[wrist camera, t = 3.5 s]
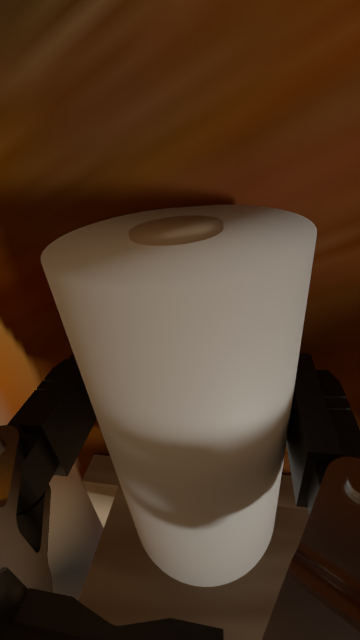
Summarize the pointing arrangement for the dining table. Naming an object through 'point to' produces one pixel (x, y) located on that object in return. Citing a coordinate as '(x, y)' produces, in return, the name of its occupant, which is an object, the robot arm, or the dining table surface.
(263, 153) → the dining table surface
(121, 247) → the paper roll
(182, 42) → the dining table surface
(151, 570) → the roll holder
